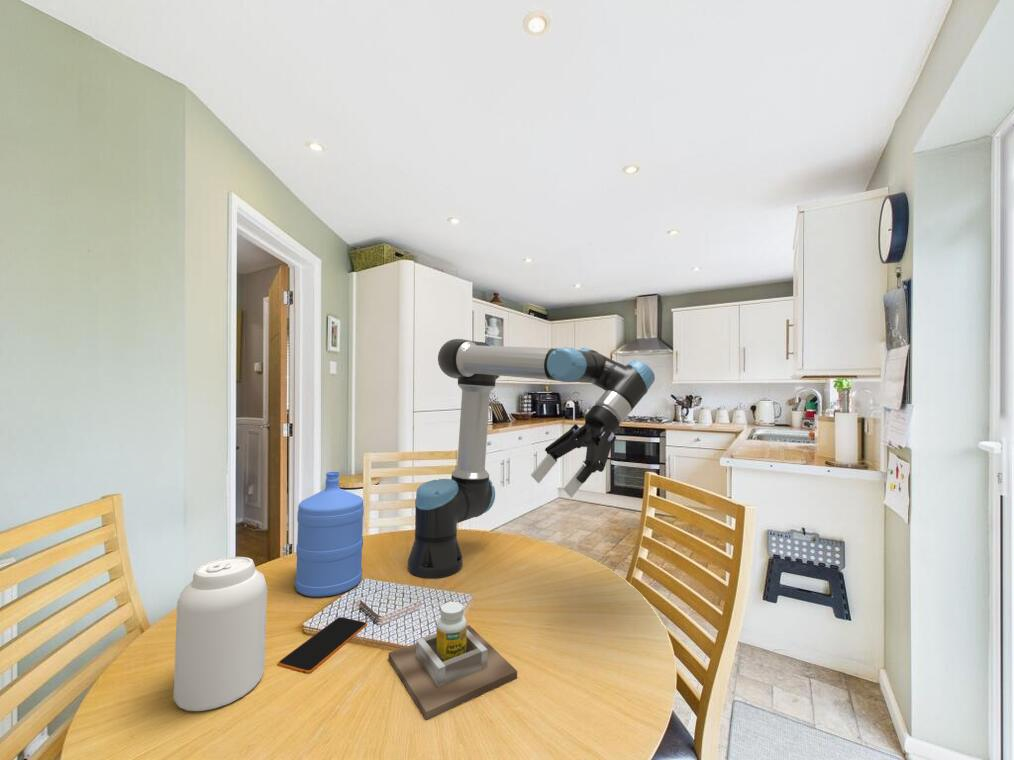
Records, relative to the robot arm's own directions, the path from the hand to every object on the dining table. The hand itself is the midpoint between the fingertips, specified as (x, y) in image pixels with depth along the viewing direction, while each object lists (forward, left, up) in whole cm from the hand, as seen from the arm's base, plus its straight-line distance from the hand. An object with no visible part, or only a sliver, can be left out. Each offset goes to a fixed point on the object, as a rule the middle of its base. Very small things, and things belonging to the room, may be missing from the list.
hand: (549, 485), depth 90 cm
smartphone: (-19, -41, -30) cm, 54 cm away
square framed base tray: (+1, -24, -30) cm, 38 cm away
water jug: (-45, -35, -30) cm, 64 cm away
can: (-16, -58, -30) cm, 67 cm away
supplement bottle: (+1, -24, -29) cm, 37 cm away
